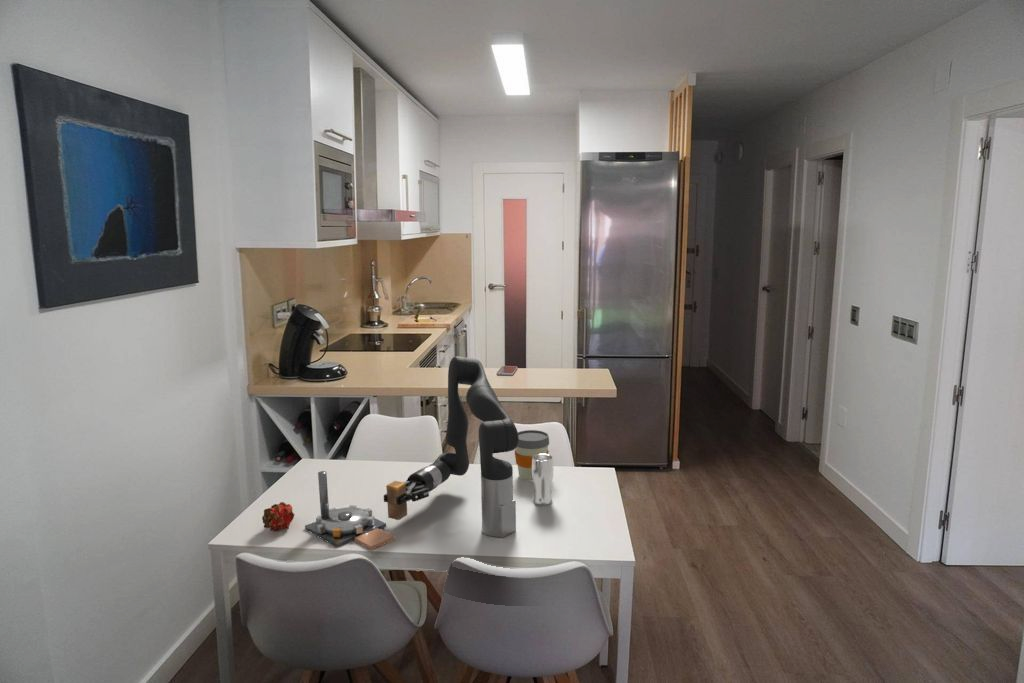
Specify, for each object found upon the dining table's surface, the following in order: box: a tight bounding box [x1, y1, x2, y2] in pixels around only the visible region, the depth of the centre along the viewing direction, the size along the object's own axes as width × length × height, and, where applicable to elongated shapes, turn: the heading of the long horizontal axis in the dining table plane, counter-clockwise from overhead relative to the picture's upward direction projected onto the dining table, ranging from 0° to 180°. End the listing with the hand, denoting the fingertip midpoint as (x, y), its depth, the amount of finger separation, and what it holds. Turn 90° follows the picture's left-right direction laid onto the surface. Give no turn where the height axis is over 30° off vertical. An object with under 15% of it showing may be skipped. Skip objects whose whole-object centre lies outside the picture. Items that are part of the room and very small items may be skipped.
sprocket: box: [315, 470, 375, 537], centre depth 201 cm, size 17×17×16 cm
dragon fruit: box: [261, 501, 295, 532], centre depth 203 cm, size 8×8×12 cm
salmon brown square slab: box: [354, 528, 395, 550], centre depth 195 cm, size 8×8×1 cm
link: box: [385, 480, 408, 521], centre depth 201 cm, size 4×4×10 cm
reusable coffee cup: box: [514, 429, 550, 482], centre depth 240 cm, size 13×12×15 cm
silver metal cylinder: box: [532, 453, 555, 506], centre depth 218 cm, size 7×7×15 cm
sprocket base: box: [304, 517, 387, 548], centre depth 203 cm, size 17×17×1 cm
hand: (391, 500), depth 199 cm, fingers closed on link, 4 cm apart
